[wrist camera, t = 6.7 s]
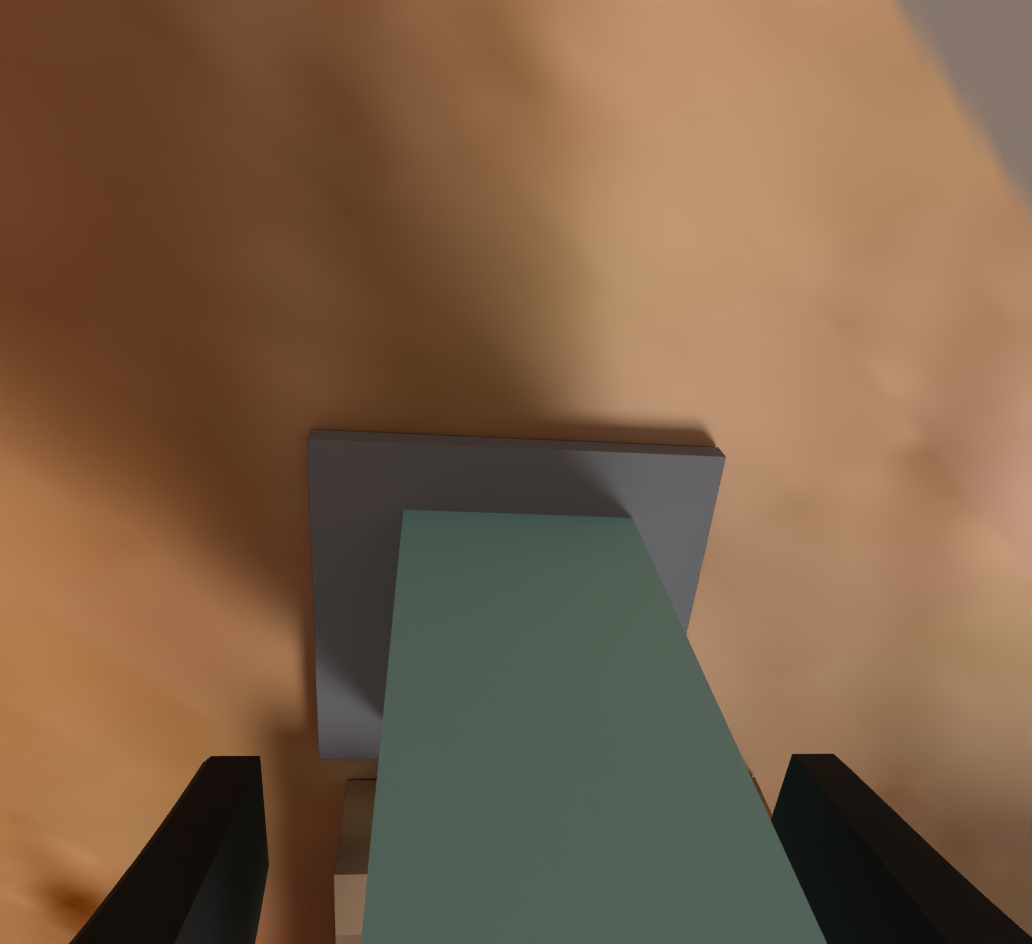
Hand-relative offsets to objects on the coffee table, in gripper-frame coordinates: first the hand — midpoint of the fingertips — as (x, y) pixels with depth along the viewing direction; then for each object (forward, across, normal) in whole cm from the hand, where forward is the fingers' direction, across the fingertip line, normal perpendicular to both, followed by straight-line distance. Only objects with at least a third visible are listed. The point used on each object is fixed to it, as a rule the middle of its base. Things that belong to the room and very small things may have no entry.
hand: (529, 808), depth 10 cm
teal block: (+4, 0, 0) cm, 4 cm away
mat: (+5, 0, 0) cm, 5 cm away
